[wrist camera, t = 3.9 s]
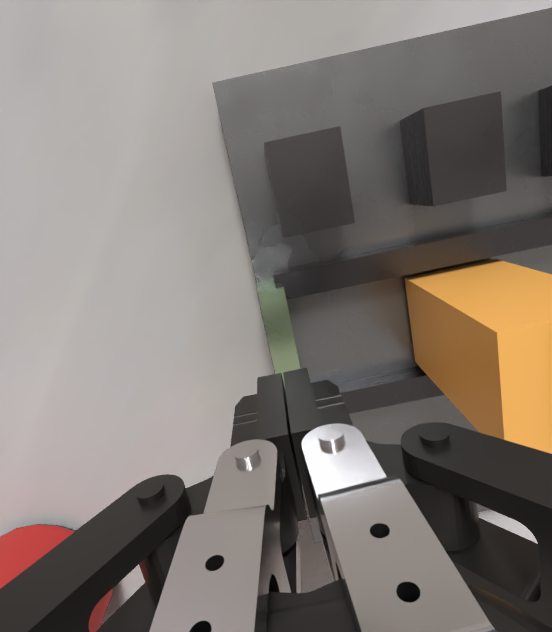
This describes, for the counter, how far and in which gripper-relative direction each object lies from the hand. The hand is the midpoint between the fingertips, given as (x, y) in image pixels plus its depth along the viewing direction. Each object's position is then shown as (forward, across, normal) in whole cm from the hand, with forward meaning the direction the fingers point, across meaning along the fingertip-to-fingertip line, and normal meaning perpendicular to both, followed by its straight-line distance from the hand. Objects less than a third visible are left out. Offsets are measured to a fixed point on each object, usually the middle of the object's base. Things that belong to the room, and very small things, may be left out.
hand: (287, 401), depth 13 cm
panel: (+6, -7, 0) cm, 10 cm away
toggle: (+5, -7, 0) cm, 9 cm away
